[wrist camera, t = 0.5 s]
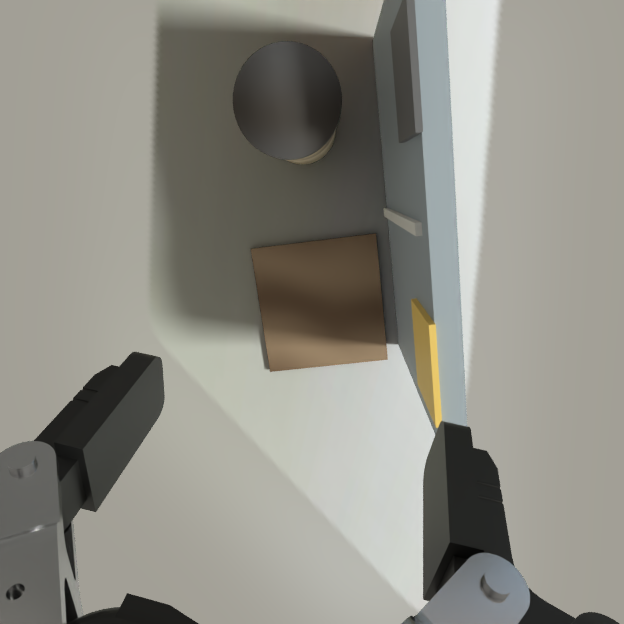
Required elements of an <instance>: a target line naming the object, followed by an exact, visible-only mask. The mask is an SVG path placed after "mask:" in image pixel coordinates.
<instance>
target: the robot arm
mask: <svg viewBox="0 0 624 624" xmlns="http://www.w3.org/2000/svg"><path fill="white" fill-rule="evenodd" d="M163 404H164V382H163V368H162V360H161V358H160V357H156V356H152V355H148V354H143V353H139V352H133V353H131V354H130V355H129V356H128V358H127V359H126V360H125V361H124V362H123V363H122V364H121V365H120V367H118V366H113V365H111V366H109V367H107V368H106V369H104V370H102V371H100V372H99V373H97V374H95V375H94V376H93V377H92V378H91V379H90V380H89V382H88V383H87V384H86V385H85V386H84V387H83V390H80V392H78V394H77V395H76V396H75V397H74V398H73V401H70V402H69V403H68V404H67V406H65V408H64V409H63V410H62V411H61V412H60V413H59V414H58V415H57V416H56V417H55V418H54V420H53V421H52V422H51V423H50V424H49V425H48V426H47V427H46V428H45V429H44V430H43V431H42V433H41V434H40V435H39V436H38V437H37V438H36V439H35V440H34V441H28V442H22V443H19V444H16V445H13V446H11V447H9V448H7V449H5V450H4V451H2V452H1V453H0V624H198V623H197V622H195V621H193V620H192V619H190V618H189V617H187V616H185V615H184V614H183V613H181V612H179V611H178V610H176V609H175V608H173V607H172V606H170V605H167V604H164V603H160V602H157V601H153V600H149V599H146V598H142V597H139V596H135V595H131V594H127V595H126V597H125V599H124V601H123V603H122V605H121V607H115V608H108V609H103V610H99V611H95V612H92V613H89V614H86V615H84V616H83V611H82V605H81V599H80V592H79V584H78V572H77V560H76V549H75V537H74V526H73V521H72V520H73V518H74V517H75V516H76V514H77V513H78V511H79V510H80V508H82V509H86V510H90V511H94V512H96V511H97V509H98V508H99V506H100V505H101V503H102V502H103V500H104V499H105V497H106V496H107V494H108V493H109V491H110V490H111V488H112V487H113V485H114V484H115V482H116V481H117V479H118V478H119V476H120V475H121V473H122V472H123V470H124V469H125V467H126V466H127V464H128V463H129V461H130V460H131V458H132V457H133V455H134V454H135V452H136V451H137V449H138V448H139V446H140V445H141V443H142V442H143V440H144V438H145V437H146V436H147V434H148V433H149V431H150V430H151V428H152V427H153V425H154V423H155V422H156V421H157V419H158V417H159V415H160V413H161V411H162V408H163ZM502 501H503V499H502V494H501V490H500V481H499V475H498V469H497V467H496V465H495V464H494V462H493V460H492V459H491V457H490V455H489V454H488V452H487V451H484V450H480V449H476V448H473V444H472V436H471V429H470V427H467V426H463V425H458V424H454V423H449V422H445V421H441V422H440V424H439V427H438V429H437V432H436V435H435V438H434V441H433V443H432V446H431V449H430V452H429V454H428V457H427V460H426V465H425V470H424V479H423V599H424V600H427V601H429V602H428V603H427V604H426V605H425V606H424V608H423V609H422V610H421V611H420V612H419V613H418V614H417V615H416V616H414V617H413V616H410V617H408V618H407V619H406V620H405V621H404V622H403V623H402V624H619V623H618V622H616V621H615V620H613V619H611V618H609V617H607V616H605V615H602V614H599V613H595V612H594V613H593V612H588V613H583V614H581V615H579V616H578V617H577V618H576V619H575V618H574V617H572V616H570V615H568V614H567V613H565V612H563V611H561V610H560V609H558V608H556V607H554V606H553V605H551V604H549V603H547V602H546V601H544V600H543V599H541V598H540V597H538V596H537V595H536V594H534V593H533V592H532V591H531V590H530V589H529V588H528V586H527V583H526V581H525V579H524V578H523V576H522V575H521V573H520V572H519V571H518V570H517V569H516V568H515V566H514V564H513V559H512V554H511V548H510V542H509V536H508V530H507V524H506V518H505V512H504V506H503V504H502Z"/></svg>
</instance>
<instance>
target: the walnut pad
mask: <svg viewBox="0 0 624 624" xmlns="http://www.w3.org/2000/svg"><path fill="white" fill-rule="evenodd" d="M251 254H252V260H253V266H254V273H255V279H256V285H257V292H258V298H259V304H260V310H261V317H262V323H263V329H264V336H265V342H266V348H267V355H268V361H269V367H270V372H272V371H282V370H291V369H301V368H310V367H320V366H330V365H339V364H349V363H359V362H368V361H378V360H388V358H387V347H386V336H385V325H384V314H383V304H382V293H381V282H380V271H379V261H378V250H377V239H376V233H374V234H366V235H358V236H350V237H342V238H334V239H326V240H317V241H309V242H301V243H293V244H285V245H277V246H269V247H260V248H252V249H251Z"/></svg>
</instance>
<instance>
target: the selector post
mask: <svg viewBox="0 0 624 624" xmlns="http://www.w3.org/2000/svg"><path fill="white" fill-rule="evenodd" d="M341 106H342V94H341V88H340V84H339V80H338V78H337V75H336V73H335V71H334V69H333V68H332V66H331V64H330V63H329V62H328V61H327V59H326V58H325V57H324V56H323V55H322V54H320V53H319V52H318V51H316V50H315V49H313V48H311V47H310V46H308V45H305V44H302V43H298V42H293V41H282V42H276V43H272V44H269V45H267V46H264V47H263V48H261V49H259V50H258V51H256V52H255V53H254V54H253V55H252V56H251V57H250V58H249V59H248V60H247V61H246V62H245V64H244V65H243V66H242V68H241V70H240V72H239V74H238V76H237V79H236V82H235V86H234V92H233V108H234V113H235V118H236V120H237V123H238V126H239V128H240V130H241V131H242V133H243V134H244V136H245V137H246V139H247V140H248V141H249V142H250V143H251V144H252V145H253V146H254V147H255V148H257V149H258V150H260V151H261V152H263V153H265V154H267V155H269V156H272V157H274V158H278V159H283V160H287V161H289V162H292V163H295V164H302V165H303V164H310V163H313V162H316V161H318V160H320V159H321V158H323V157H324V156H325V155H326V154H327V153H328V151H329V150H330V148H331V147H332V145H333V142H334V139H335V135H336V128H337V125H338V122H339V119H340V114H341Z"/></svg>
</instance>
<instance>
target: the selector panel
mask: <svg viewBox="0 0 624 624" xmlns="http://www.w3.org/2000/svg"><path fill="white" fill-rule="evenodd" d="M373 53H374V64H375V76H376V88H377V99H378V111H379V123H380V134H381V146H382V157H383V169H384V181H385V192H386V204H387V208H383V209H384V217H386V218H387V219H388V227H389V239H390V251H391V262H392V274H393V285H394V297H395V309H396V320H397V332H398V344H399V347H400V349H401V352H402V354H403V357H404V359H405V362H406V364H407V366H408V369H409V371H410V374H411V376H412V379H413V381H414V383H415V386H416V388H417V391H418V393H419V396H420V398H421V401H422V403H423V405H424V408H425V410H426V413H427V415H428V418H429V420H430V422H431V425H432V427H433V430H434V432H435V435H436V432H437V429H438V427H439V424H440V422H441V421H445V422H449V423H454V424H458V425H463V426H467V414H466V394H465V374H464V354H463V335H462V315H461V295H460V275H459V256H458V236H457V216H456V196H455V177H454V157H453V137H452V117H451V98H450V78H449V58H448V38H447V19H446V0H384V2H383V6H382V9H381V13H380V16H379V20H378V23H377V27H376V31H375V34H374V38H373Z"/></svg>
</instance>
